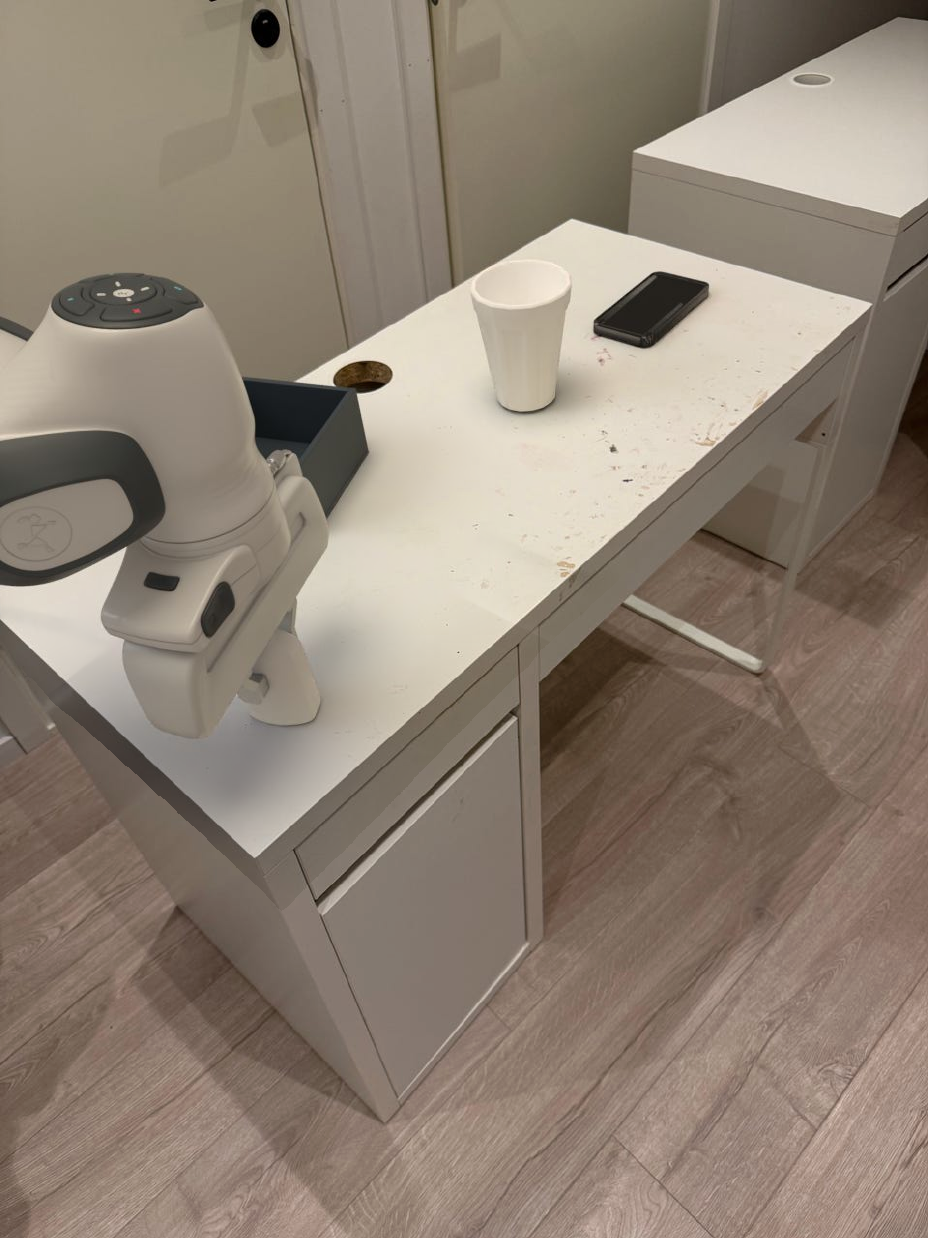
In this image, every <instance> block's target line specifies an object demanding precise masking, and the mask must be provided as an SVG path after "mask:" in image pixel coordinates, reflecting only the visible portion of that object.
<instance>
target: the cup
mask: <svg viewBox="0 0 928 1238" xmlns="http://www.w3.org/2000/svg"><path fill="white" fill-rule="evenodd" d="M572 287H573V283H572V275H571V274H570V273H569V272H568V271H567V270H565V268H563V266H561V265H558V264H555V263H553V262H550V261H547V260H539V259H531V258H530V259H529V258H528V259H515V260H509V261H505V262H501V263H497V264H493V265H492V266H489V267H488V268H486V269H484V270H482V271H480V272H479V273H478V274H477V276H475V278H474V279H473V280H472V281H471V282H470V290H469V291H470V297H471V298H470V299H471V302H472V307H473V310H474V312H475V314H476V318H477V322H478V326H479V331H480V334H481V339H482V342H483V347H484V350H485V355H486V359H487V362H488V366H489V371H490V375H491V379H492V383H493V387H494V391H495V395H496V400H497V402H498V403H499V404H500V405H501V406H502V407H504V408H506V409H508V410H509V411H515V412H534V411H537V410H540V409H543V408H545V407H546V406H548V405H549V404H551V403H552V402H553V401H554V399H555V398H556V389H557V381H558V372H559V366H560V357H561V349H562V344H563V343H562V341H563V335H564V328H565V320H566V312H567V310H568V308H569V305H570V303H571V297H572Z"/></svg>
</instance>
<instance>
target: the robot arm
mask: <svg viewBox="0 0 928 1238" xmlns="http://www.w3.org/2000/svg"><path fill="white" fill-rule="evenodd" d="M232 351H233V350H232V349H231V345H230V344H229V342H228V339H227V338H226V334H225V333H224V331H223V329H222V326H221V325H220V323H219V321H218V319H217V318H216V316H215V315H214V313H213V311H212V310H211V309H210V307H209V306H208V305H207V303H205V301H204V300H202V298H200V297H199V296H198V295H197V294H196V293H194V291H192V290H190V289H189V288H187V287H185V286H184V285H182V284H180V283H178V282H176V281H174V280H171V279H169V278H168V277H164V276H157V275H152V274H145V273H144V272H143V273H142V272H113V273H112V272H111V273H104V274H99V275H93V276H90V277H86V278H83V279H80V280H79V281H77V282H74V283H72V284H70V285H67V286H66V287H64V288H62V289H60V290H59V291H58V292H57V293H56V294H55V295H54V296H53V297H52V298H51V300H50V302H49V305H48V308H47V310H46V313H45V315H44V317H43V319H42V321H41V322H40V324H39V325H38V327H37V328H36V329H35V331H33V330H31V329H29V328H28V327H26V326H24V325H21V324H19V323H18V322H15V321H13V320H10V319H9V318H5V317H3V316H1V315H0V586H5V587H16V588H17V587H18V588H19V587H20V588H21V587H22V588H23V587H35V586H43V585H47V584H51V583H54V582H55V583H56V582H58V581H60V580H64V579H66V578H68V577H70V576H73V575H75V574H77V573H79V572H81V571H83V570H86V569H87V568H89V567H92V566H94V565H95V564H97V563H99V562H101V561H103V560H105V559H107V558H108V557H110V556H113V555H114V554H116V553H118V552H119V551H123V550H124V549H125V552H124V555H123V558H122V561H121V565H120V566H119V569H118V572H117V573H116V576H115V579H114V581H113V583H112V585H111V588H110V590H109V592H108V594H107V596H106V598H105V601H104V602H103V605H102V607H101V610H100V621H101V624H102V626H103V628H104V630H105V631H106V632H107V633H108V634H109V635H110V636H113V637H116V638H119V639H121V640H123V642H122V648H121V656H122V657H121V659H122V660H121V661H122V666H123V670H124V673H125V676H126V678H127V680H128V683H129V685H130V687H131V690H132V691H133V694H134V696H135V698H136V700H137V702H138V703H139V706H140V707H141V709H142V711H143V713H144V714H145V717H146V718H147V720H148V721H149V722H150V723H151V725H153V727H154V728H155V729H156V730H158V731H161V732H162V733H166V734H169V735H172V736H176V737H180V738H184V739H190V740H191V739H192V740H193V739H194V740H199V739H200V740H201V739H207V738H209V737H210V736H211V735H212V734H213V732H214V731H215V730H216V728H217V726H218V724H219V723H220V721H221V719H222V718H223V716H224V715H225V713H226V712H227V710H228V708H229V707H230V705H231V704H232V702H233V700H234V698H235V697H236V695H237V697H238V699H239V700H240V701H242V702H243V703H244V702H246V703H250V704H255V705H260V704H261V703H262V701H263V699H264V697H265V695H266V693H267V692H268V690H269V685H267V680H266V677H265V676H264V675H260V674H254V675H253V674H252V668H253V666H254V664H255V663H256V661H257V660H258V658H259V656H260V655H261V653H262V651H263V650H264V648H265V647H266V645H267V643H268V642H269V640H270V639H271V637H272V635H273V634H274V632H275V630H276V629H277V628H279V629H282V630H284V631H286V632H289V633H290V634H292V635H294V636H295V637H297V638H298V639H299V636H298V633H297V631H296V628H295V626H296V620H297V619H296V618H297V609H298V599H297V597H298V595H299V593H301V591H302V588H303V587H304V585H305V584H306V582H307V581H308V579H309V577H310V576H311V574H312V572H313V571H314V569H315V567H316V566H317V564H318V563H319V561H320V559H321V558H322V556H323V555H324V553H325V551H326V550H327V548H328V545H329V538H330V527H329V523H328V520H327V519H326V517H325V514H324V511H323V509H322V506H321V504H320V501H319V499H318V496H317V494H316V492H315V490H314V488H313V486H312V484H311V483H310V482H309V480H308V479H306V478H305V477H302V472H301V468H300V465H299V461H298V458H297V456H296V455H295V454H294V453H292V452H291V451H289V450H282V451H281V450H276V451H274V452H273V453H271V454H270V455H269V457H268V458H267V459H266V460H265V459H264V457H263V456H262V455H261V453H260V452H259V450H258V448H257V446H256V442H255V418H254V414H253V410H252V407H251V404H250V401H249V398H248V395H247V392H246V389H245V386H244V383H243V380H242V377H243V376H242V375H241V371H240V368H239V366H238V364H237V361H236V358H235V356H234V354H233V352H232Z"/></svg>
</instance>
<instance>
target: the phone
mask: <svg viewBox="0 0 928 1238" xmlns="http://www.w3.org/2000/svg"><path fill="white" fill-rule="evenodd" d="M709 291H710V283H708V282H707V281H704V280H700V279H696V278H691V277H687V276H683V275H679V274H675V273H671V272H666V271H653V272H651V273H650V274H648V275H647V276H646V277H645V278H643V279H642V280H641V281H640V282H639V283H638V284H636V285H635V286H633V288H631V289H630V290H629V291H628V292H627V293H625V294H624V295H622V297H620V298H619V299H618V300H617V301H615V302H614V303H613V304H611V306H609V307H608V308H607V309H605V310H604V311H603V312H602V313H601V314H599V315H597V317H596V318H595V319H593V324H592V325H593V329H592V330H593V333H595V335H598V336H602V337H605V338H608V339H612V340H615V341H619V342H623V343H625V344H629V345H633V346H636V347H640V348H648V347H651V346H653V345H655V343H657V342H658V341H659V340H660V339H662V337H663V336H665V335H666V334H667V333H668V332H669V331H670V330H671V329H673V327H675V326H676V325H677V324H678V323H679V322H680V321H681V320H683V319H684V318H685V317H686V316H687V315H688V314H689V313H690V312H691V311H692V310H694V309H695V308H696V307H698V305H699V304H700V303H702V302H703V301H704V300H705V299H706V298H707V297H708V296H709Z"/></svg>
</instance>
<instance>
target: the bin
mask: <svg viewBox="0 0 928 1238" xmlns="http://www.w3.org/2000/svg"><path fill="white" fill-rule="evenodd" d="M241 377H242V380H243V383H244V386H245V389H246V392H247V395H248V398H249V401H250V404H251V407H252V410H253V414H254V418H255V442H256V446H257V448H258V450H259V452H260V453H261V455H262V456H263V457H264V459H265V460H266V459H267V458H268V457H269V455H270V454H271V453H273V452H274V451H276V450H281V451H282V450H289V451H291V452H292V453H294V454H295V455H296V456H297V458H298V461H299V465H300V468H301V472H302V477H305V478H306V479H308V480H309V482H310V483H311V484H312V486H313V488H314V490H315V492H316V494H317V496H318V499H319V501H320V504H321V506H322V509H323V511H324V514H325V517H326V520H327V519H328V518H329V516H330V514H331V512H332V511H333V510H334V508H335V506H336V504H337V503H338V501H339V500H340V498H341V497H342V495H344V494H343V493H344V492H345V491H346V489H347V487H348V485H349V484H350V483H351V481H352V480H353V478H354V477H355V475H356V473H357V472H358V470H359V468H360V467H361V465H362V464H363V462H364V461H365V459H366V458H367V456H368V454H369V453H370V450H369V445H368V440H367V436H366V432H365V427H364V422H363V421H364V420H363V417H362V413H361V407H360V403H359V397H358V393H357V389H356V387H347V386H337V385H336V386H335V385H326V384H317V383H308V382H297V381H288V380H279V379H269V378H261V377H260V378H259V377H251V376H250V377H249V376H241Z"/></svg>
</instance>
